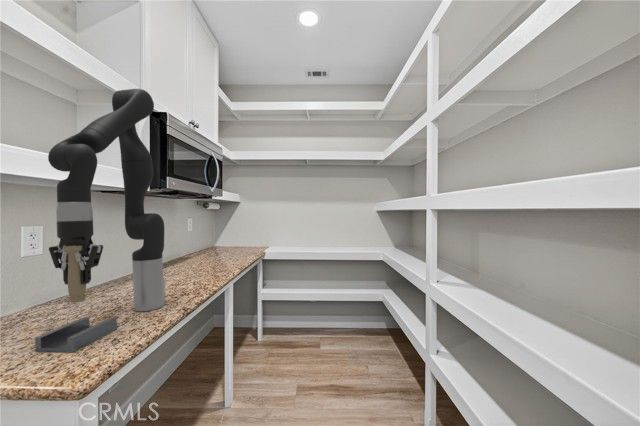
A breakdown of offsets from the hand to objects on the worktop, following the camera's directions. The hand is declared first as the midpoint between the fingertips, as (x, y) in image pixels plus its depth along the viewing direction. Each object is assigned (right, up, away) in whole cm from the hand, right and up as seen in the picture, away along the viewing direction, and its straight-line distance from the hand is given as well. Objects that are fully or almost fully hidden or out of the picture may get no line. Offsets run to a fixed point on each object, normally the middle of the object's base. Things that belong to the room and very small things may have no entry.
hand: (77, 283), depth 80 cm
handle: (0, -5, 0) cm, 5 cm away
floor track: (0, -15, 0) cm, 15 cm away
